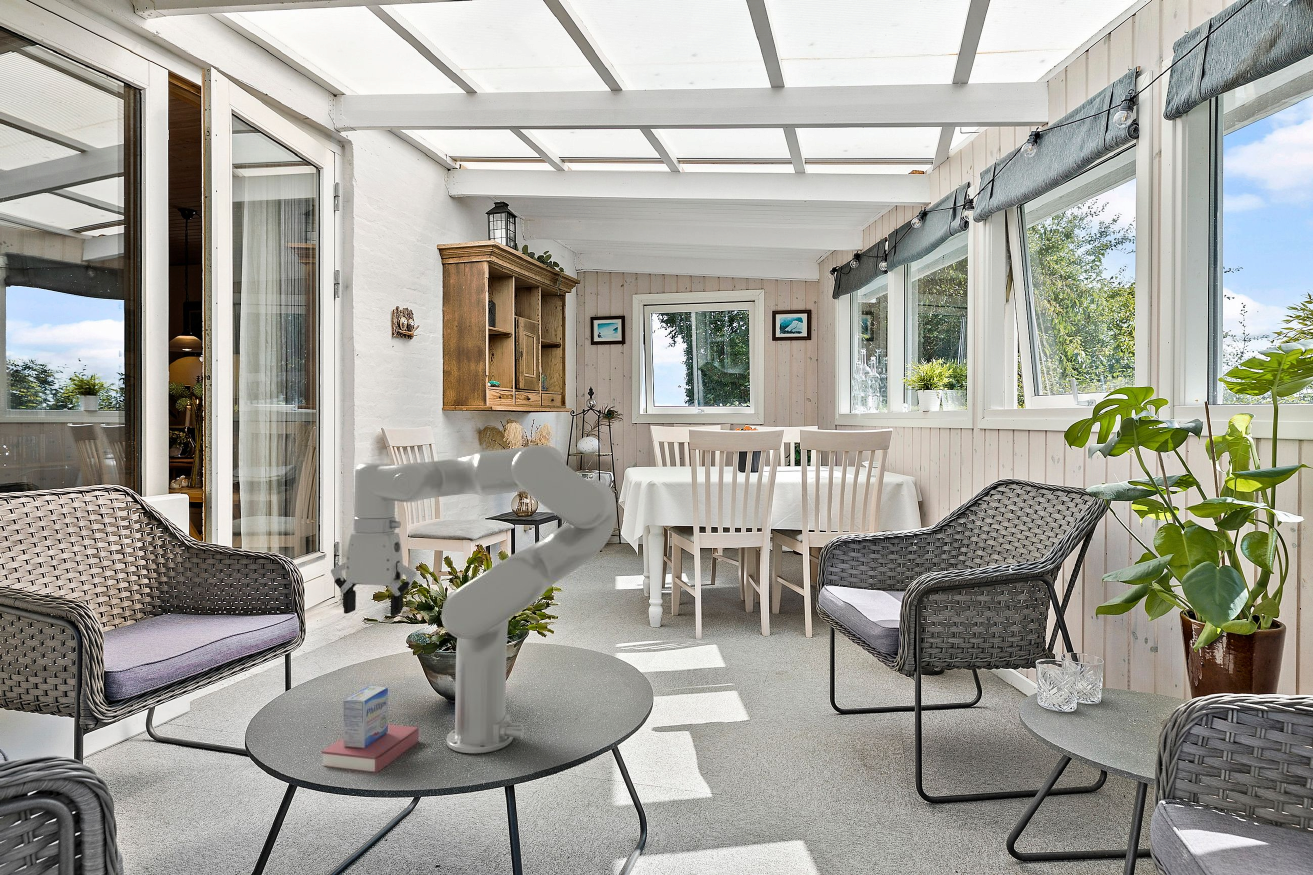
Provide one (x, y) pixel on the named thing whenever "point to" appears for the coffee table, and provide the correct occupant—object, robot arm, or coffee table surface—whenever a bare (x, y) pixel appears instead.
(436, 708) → the coffee table surface
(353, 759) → the book
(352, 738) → the medicine box
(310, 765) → the coffee table surface
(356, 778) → the coffee table surface
